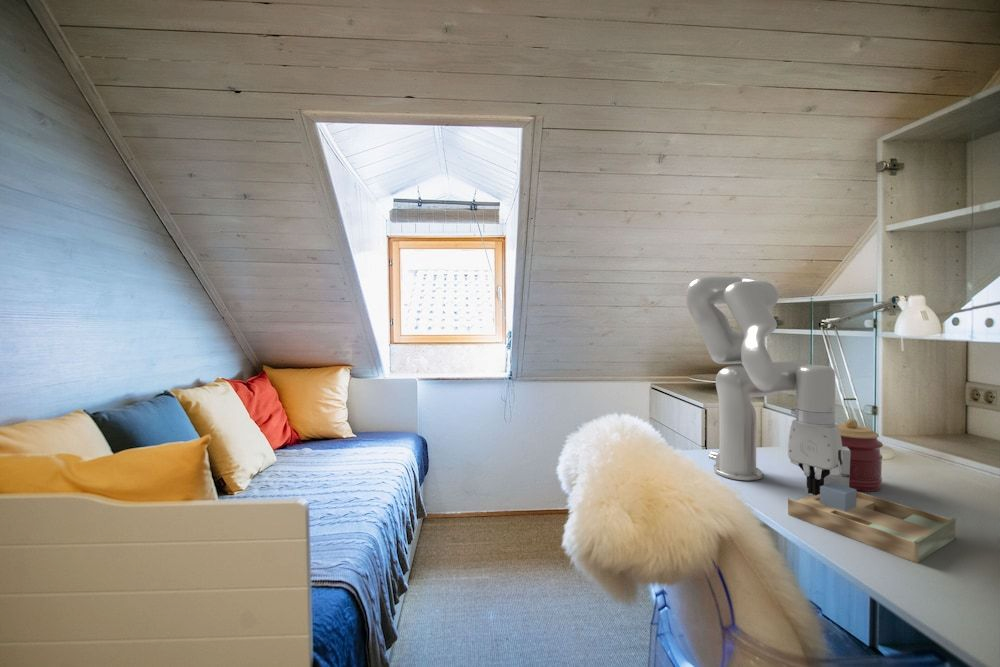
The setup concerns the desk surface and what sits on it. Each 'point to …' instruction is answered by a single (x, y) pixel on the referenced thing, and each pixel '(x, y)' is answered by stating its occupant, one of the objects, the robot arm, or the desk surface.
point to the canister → (862, 455)
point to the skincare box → (844, 477)
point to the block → (838, 496)
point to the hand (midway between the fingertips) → (815, 493)
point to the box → (880, 524)
